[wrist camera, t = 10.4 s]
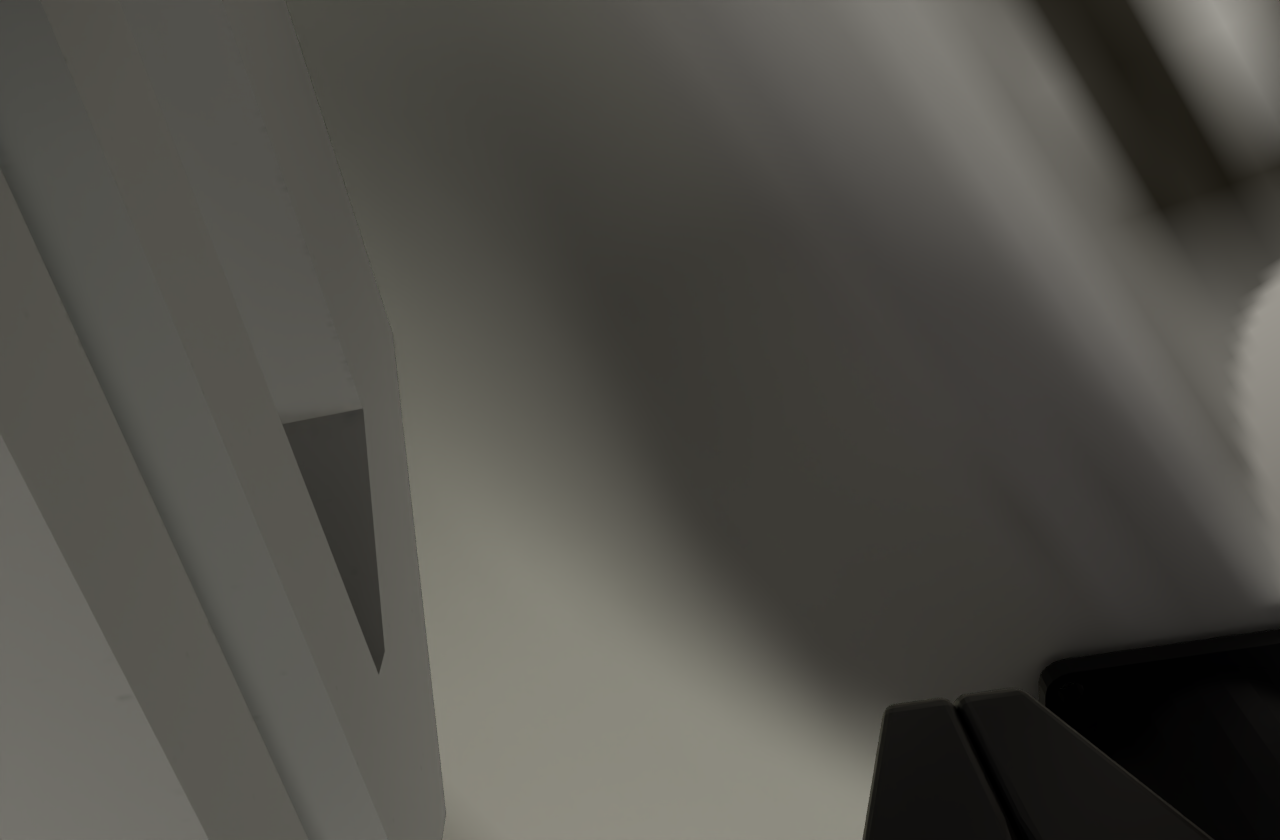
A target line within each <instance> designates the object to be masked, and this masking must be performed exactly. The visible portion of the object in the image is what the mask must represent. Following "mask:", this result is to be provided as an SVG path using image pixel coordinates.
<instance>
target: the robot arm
mask: <svg viewBox="0 0 1280 840" xmlns="http://www.w3.org/2000/svg"><path fill="white" fill-rule="evenodd" d="M1070 682H1075V683H1074V684H1073V685H1071V686H1070V687H1068V688H1065V689H1060V688H1061V687H1062V686H1063V685H1064V684H1067V683H1070ZM863 840H1280V629H1277V630H1270V631H1263V632H1256V633H1248V634H1241V635H1234V636H1227V637H1220V638H1213V639H1206V640H1199V641H1191V642H1184V643H1177V644H1170V645H1163V646H1156V647H1149V648H1142V649H1135V650H1127V651H1120V652H1113V653H1106V654H1099V655H1092V656H1085V657H1078V658H1071V659H1064V660H1060V661H1057V662H1054V663H1052V664H1051V665H1049V666H1048V667H1046V668H1045V670H1044V671H1043V672H1042V674H1041V675H1040V679H1039V701H1038V700H1036V699H1035V698H1034V697H1032V696H1031V695H1030V694H1028V693H1027V692H1025V691H1023V690H1020V689H1017V688H1006V689H999V690H992V691H984V692H977V693H970V694H964V695H961V696H960V697H958V698H957V699H956V700H955V702H954V704H952V703H951V702H950V701H949V700H946V699H944V698H934V699H927V700H920V701H913V702H906V703H899V704H893V705H890V706H889V707H887V708H886V710H885V712H884V714H883V718H882V723H881V730H880V736H879V742H878V748H877V754H876V760H875V766H874V773H873V779H872V785H871V791H870V797H869V803H868V809H867V815H866V822H865V828H864V834H863Z"/></svg>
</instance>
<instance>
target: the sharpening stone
mask: <svg viewBox="0 0 1280 840" xmlns="http://www.w3.org/2000/svg"><path fill="white" fill-rule="evenodd" d="M445 817H446V808H445V799H444V790H443V781H442V772H441V763H440V754H439V745H438V736H437V727H436V718H435V709H434V700H433V691H432V682H431V673H430V664H429V655H428V646H427V637H426V628H425V619H424V610H423V601H422V592H421V583H420V574H419V565H418V556H417V547H416V538H415V529H414V520H413V511H412V502H411V493H410V484H409V475H408V466H407V457H406V448H405V439H404V430H403V421H402V412H401V403H400V394H399V385H398V376H397V367H396V357H395V348H394V339H393V333H392V330H391V327H390V324H389V321H388V318H387V314H386V311H385V308H384V305H383V302H382V299H381V296H380V293H379V290H378V287H377V283H376V280H375V277H374V274H373V271H372V268H371V265H370V262H369V259H368V255H367V252H366V249H365V246H364V243H363V240H362V237H361V234H360V231H359V228H358V224H357V221H356V218H355V215H354V212H353V209H352V206H351V203H350V200H349V197H348V193H347V190H346V187H345V184H344V181H343V178H342V175H341V172H340V169H339V166H338V162H337V159H336V156H335V153H334V150H333V147H332V144H331V141H330V138H329V135H328V131H327V128H326V125H325V122H324V119H323V116H322V113H321V110H320V107H319V104H318V100H317V97H316V94H315V91H314V88H313V85H312V82H311V79H310V76H309V72H308V69H307V66H306V63H305V60H304V57H303V54H302V51H301V48H300V45H299V41H298V38H297V35H296V32H295V29H294V26H293V23H292V20H291V17H290V14H289V10H288V7H287V4H286V1H285V0H0V840H442V837H443V831H444V824H445Z"/></svg>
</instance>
